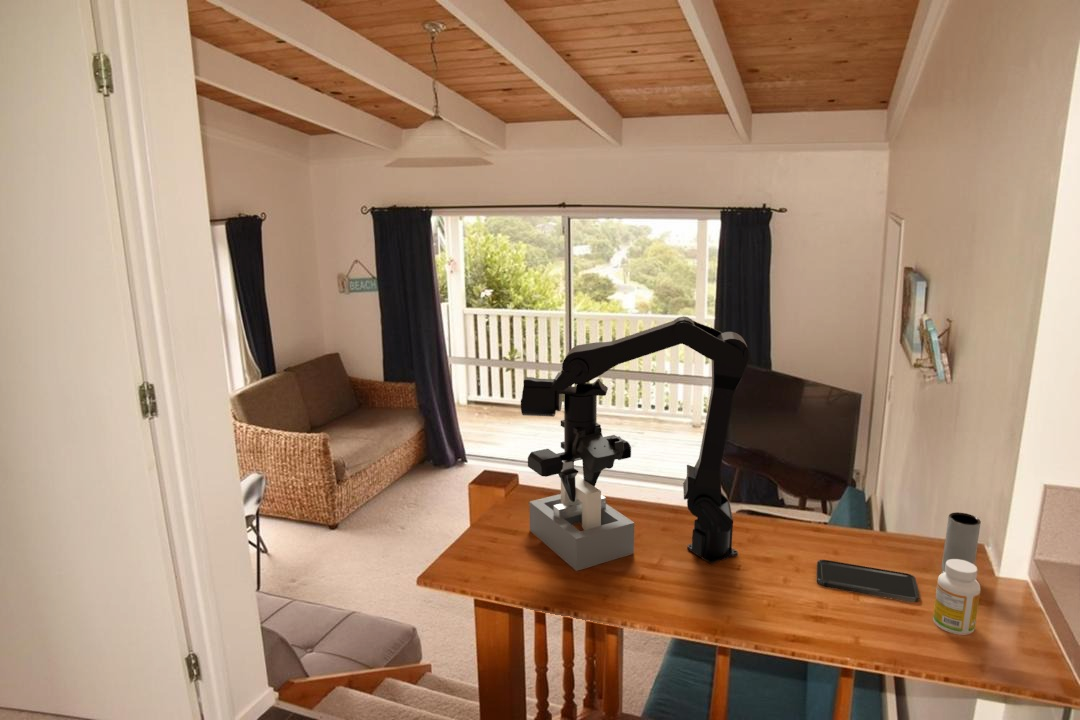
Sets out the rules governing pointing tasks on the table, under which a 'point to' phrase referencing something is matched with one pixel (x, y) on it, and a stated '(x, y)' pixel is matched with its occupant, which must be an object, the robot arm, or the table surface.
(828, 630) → the table surface
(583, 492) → the cream block
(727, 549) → the robot arm
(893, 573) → the phone
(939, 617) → the supplement bottle
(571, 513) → the cross bar
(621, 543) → the frame
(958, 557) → the grey hollow cylinder
